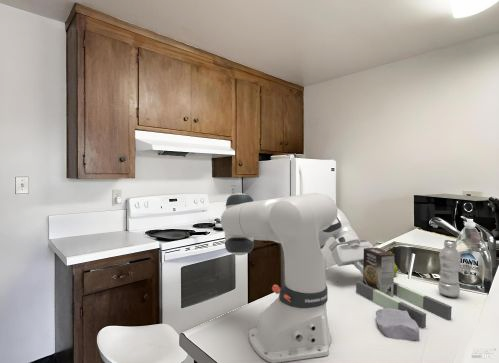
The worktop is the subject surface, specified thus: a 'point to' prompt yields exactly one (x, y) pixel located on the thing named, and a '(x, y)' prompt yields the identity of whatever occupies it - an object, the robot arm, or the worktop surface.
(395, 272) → the fruit
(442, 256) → the plastic bottle
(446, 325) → the worktop surface
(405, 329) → the stone block
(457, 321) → the worktop surface
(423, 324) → the track
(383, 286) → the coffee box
